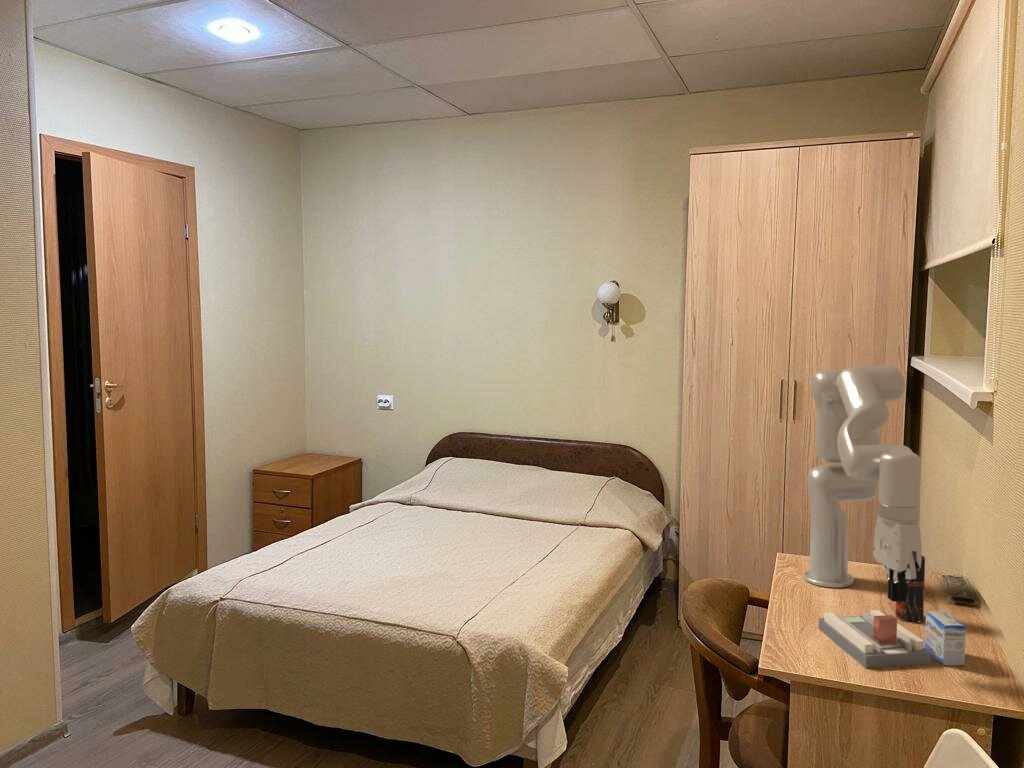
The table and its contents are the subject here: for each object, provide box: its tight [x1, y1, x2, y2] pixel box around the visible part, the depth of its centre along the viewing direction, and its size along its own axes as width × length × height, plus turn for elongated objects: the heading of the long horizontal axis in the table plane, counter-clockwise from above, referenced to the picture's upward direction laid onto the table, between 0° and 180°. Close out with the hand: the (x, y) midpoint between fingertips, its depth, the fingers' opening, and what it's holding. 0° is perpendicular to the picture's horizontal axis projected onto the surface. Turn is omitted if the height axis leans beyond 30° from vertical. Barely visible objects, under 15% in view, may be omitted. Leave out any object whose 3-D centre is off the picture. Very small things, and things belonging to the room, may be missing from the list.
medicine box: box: [924, 610, 967, 666], centre depth 162 cm, size 8×4×9 cm, turn 178°
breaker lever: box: [868, 614, 903, 648], centre depth 163 cm, size 5×5×6 cm
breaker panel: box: [818, 609, 932, 669], centre depth 168 cm, size 20×14×4 cm
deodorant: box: [894, 555, 926, 623], centre depth 182 cm, size 6×6×15 cm
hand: (897, 599), depth 158 cm, fingers closed
